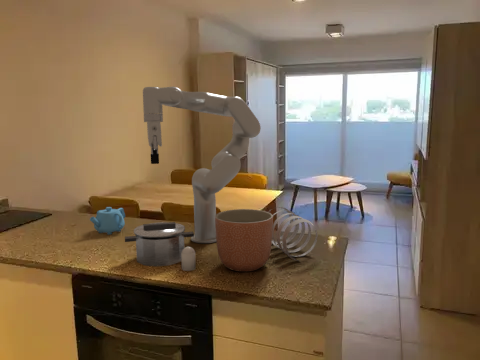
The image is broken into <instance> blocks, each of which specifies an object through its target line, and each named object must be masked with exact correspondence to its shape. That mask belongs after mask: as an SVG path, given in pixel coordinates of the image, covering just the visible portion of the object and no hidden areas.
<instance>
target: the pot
mask: <svg viewBox="0 0 480 360" xmlns="http://www.w3.org/2000/svg"><path fill="white" fill-rule="evenodd" d="M194 235H195V232H194V231H184V232H183V233H181V234H179V235H175V236H170V237H163V238H146V237H140V236H137V235H132V236H131V235H129V236H128V235H127V236H124V242H125V243H129V242H135V249H136V251H135V252H136V263H139V264H140V265H143V266H147V267H163V266H171V265H174V264H179V263H180V262H182V260H181V252H182V250H183V249H184V248H185V238H191V237H194Z"/></svg>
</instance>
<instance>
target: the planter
mask: <svg viewBox="0 0 480 360" xmlns="http://www.w3.org/2000/svg"><path fill="white" fill-rule="evenodd" d="M273 224H274V216H273V214H272V213H271V212H269V211H265V210H261V209H260V210H259V209H250V208H246V209H245V208H238V209H237V208H236V209H230V210H229V209H228V210H223V211H220V212H218V213H216V216H215V229H216V242H215V243H216V249H217V253H218V255H217V256H218V258H219V260H220V262H221V263H222V265H224V266H225V267H226V268H228V269H229V270H231V271H236V272H253V271H256V270H258V269H261V268H262V267H263V266H264V265H265V264H266V263H267V262H268V260H269V259H270V256H271V250H272V244H273V243H272V241H273V239H272V230H273Z"/></svg>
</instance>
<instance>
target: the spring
mask: <svg viewBox="0 0 480 360" xmlns="http://www.w3.org/2000/svg"><path fill="white" fill-rule="evenodd" d="M278 208H279V209H283V211H285V212H286V213H283V214H281V215H279V216H278V217H277V218H276V219H275V220H274V221H273V230H272V244H273V246H275V247H277V248H278V249H280V250H281V252H283V253H285V255H286V256H288V258H290V259H292V260H293V261H297V262H300V260H299V259H296V258H295V257H297V258H299V257H304V256H306V255H308V254H309V253H310V252H311V251H313V250H314V248H315V246H316V245H317V241H318V231H317V229H316V228H315V226H314V224H313V223H312V222H311V221H310V220H308V219H306V218H303V217H302V216H300V215H297V214H296V213H295V212H293V211H292V210H289V209H287V207H283V206H277V207H274V208H273V209H278ZM273 209H270V211H271V210H273ZM280 212H281V210H278V211H277V212H275V213H273V214H272V215H273V217H274V216H275V215H276V214H277V213H280ZM287 215H288V216H289V217H287V218H285V219H284V220H283V221H281V223H280V224H279V226H278V228H277V230H276V241H275V235H274V234H275V233H274V232H275V228H276V226H277V223H278V222H279V221H280V220H281V219H282V218H283V217H285V216H287ZM288 222H289V224H288V225H287V226H286V224H287V223H288ZM305 223H306V224H307V229H308V233H307V237H306V239H305V241H304V243H302V244H301V245H300V246H299V247H297V248H296V249H291V248H293V247H296V245H298V244H299V243H300V242H301V241H302V240H303V238H304V235H305V233H306V225H305ZM300 224H301V230H300ZM311 225H312V226H313V227H314V229H315V239H314V242H313V243H312V245H311V247H310V248H309V249H308V250H307V251H305V252H304V253H302V254H298V255H294V256H293V255H291V253H296V252H299V251H302V250H303V249H304V248H305V247H306V246H307V245H308V243H309V242H310V239H311V236H312V229H311ZM284 226H286V228H285V229H284V231H283V234H282V233H281V232H282V230H283V228H284ZM293 228H294V230H293V232H292V233H291V234H290V232H291V231H292V229H293ZM299 230H300V232H299ZM298 232H299V236H298V237H297V235H298ZM281 234H282V235H281ZM289 234H290V236H289ZM295 237H297V238H296V240H294V239H295ZM292 240H294V241H293V242H292V243H291V241H292ZM281 243H282V244H281ZM288 243H289V244H288ZM277 244H278V245H277ZM287 248H288V249H291V250H288V249H287Z"/></svg>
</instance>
